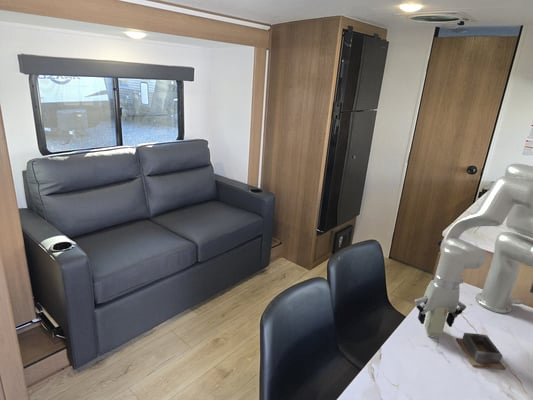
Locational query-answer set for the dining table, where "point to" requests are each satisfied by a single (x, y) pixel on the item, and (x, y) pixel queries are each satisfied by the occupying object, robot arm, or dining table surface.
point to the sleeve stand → (480, 351)
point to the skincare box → (436, 322)
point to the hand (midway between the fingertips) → (434, 322)
